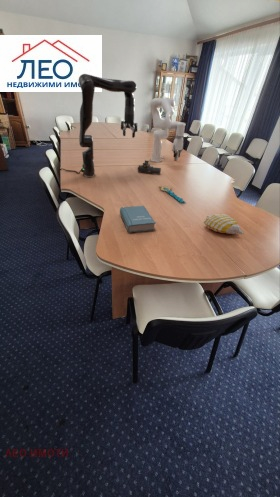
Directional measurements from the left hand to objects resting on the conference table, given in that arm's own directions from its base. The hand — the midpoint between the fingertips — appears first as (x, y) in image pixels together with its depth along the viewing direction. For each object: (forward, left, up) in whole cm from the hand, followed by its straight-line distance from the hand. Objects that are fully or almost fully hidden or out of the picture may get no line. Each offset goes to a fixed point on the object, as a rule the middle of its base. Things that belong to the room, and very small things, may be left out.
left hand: (128, 136), depth 178 cm
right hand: (+24, +58, -22) cm, 66 cm away
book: (+44, -64, -35) cm, 85 cm away
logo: (+47, -8, -35) cm, 59 cm away
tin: (+24, +58, -26) cm, 67 cm away
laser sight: (+8, +28, -35) cm, 45 cm away
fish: (+93, -42, -35) cm, 108 cm away
